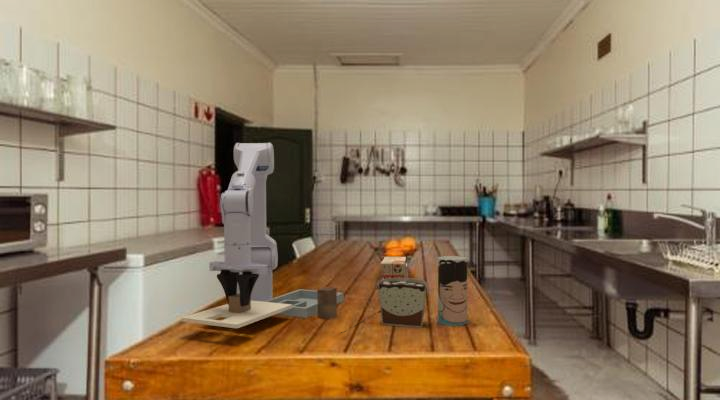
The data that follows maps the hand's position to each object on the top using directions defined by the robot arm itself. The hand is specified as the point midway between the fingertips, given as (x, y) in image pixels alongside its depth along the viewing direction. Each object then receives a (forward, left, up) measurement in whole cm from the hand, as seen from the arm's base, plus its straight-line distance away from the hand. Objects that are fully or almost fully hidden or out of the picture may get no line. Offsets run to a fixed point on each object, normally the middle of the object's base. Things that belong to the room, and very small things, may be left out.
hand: (238, 304), depth 117 cm
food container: (+32, +21, -6) cm, 38 cm away
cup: (+42, +26, -6) cm, 49 cm away
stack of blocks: (+21, +42, -6) cm, 47 cm away
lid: (0, +1, -2) cm, 2 cm away
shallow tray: (+3, +23, -6) cm, 23 cm away
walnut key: (+14, +16, -6) cm, 22 cm away
